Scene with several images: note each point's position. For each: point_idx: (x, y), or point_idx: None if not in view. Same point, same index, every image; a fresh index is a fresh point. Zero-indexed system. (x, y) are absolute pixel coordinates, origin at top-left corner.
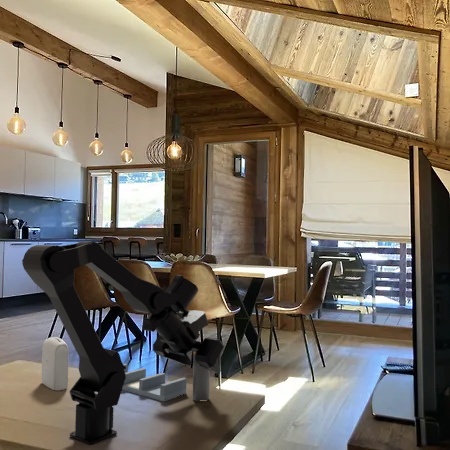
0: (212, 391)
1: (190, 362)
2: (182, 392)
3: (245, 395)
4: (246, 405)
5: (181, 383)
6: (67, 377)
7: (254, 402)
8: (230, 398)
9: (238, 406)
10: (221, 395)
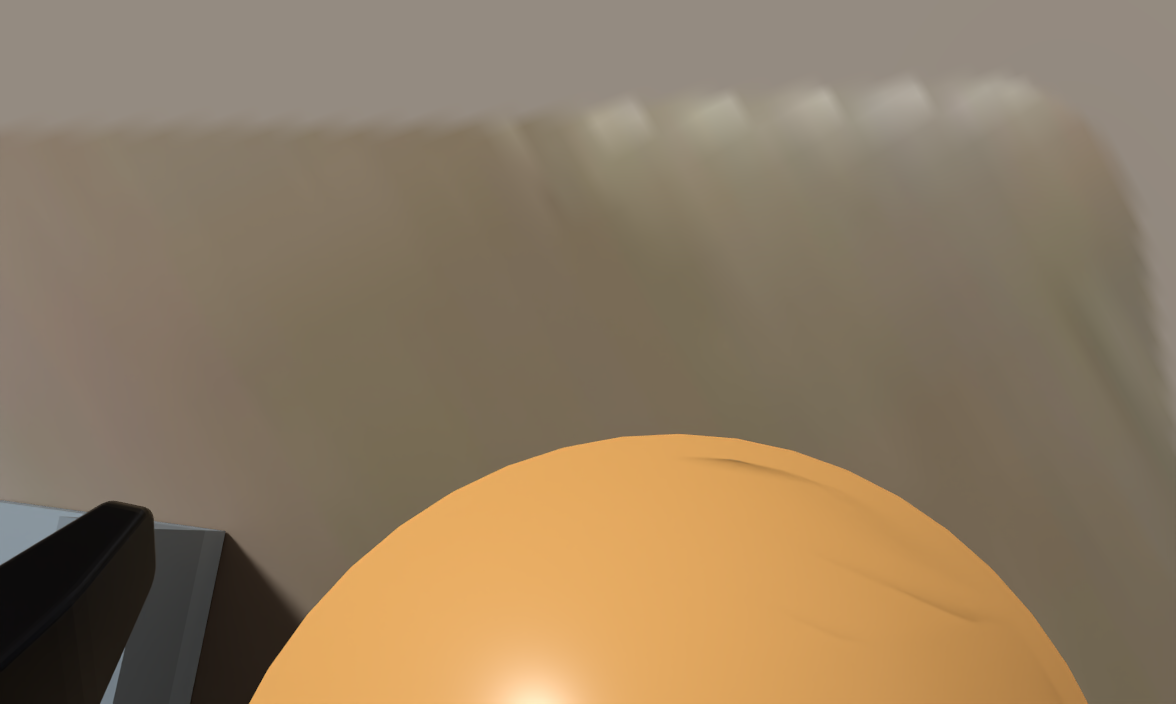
0: (500, 247)
1: (134, 552)
2: (196, 615)
3: (941, 182)
4: (1146, 522)
5: (142, 664)
6: None
7: (1163, 368)
8: (849, 384)
9: (1089, 611)
10: (690, 336)
